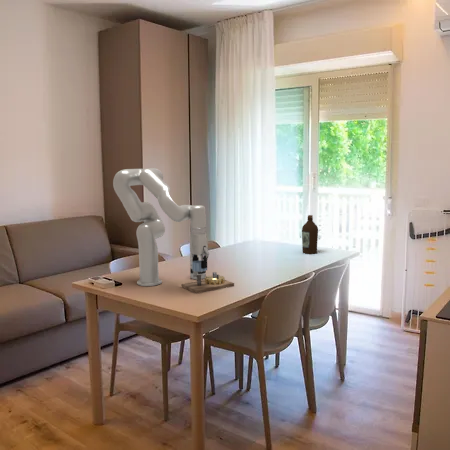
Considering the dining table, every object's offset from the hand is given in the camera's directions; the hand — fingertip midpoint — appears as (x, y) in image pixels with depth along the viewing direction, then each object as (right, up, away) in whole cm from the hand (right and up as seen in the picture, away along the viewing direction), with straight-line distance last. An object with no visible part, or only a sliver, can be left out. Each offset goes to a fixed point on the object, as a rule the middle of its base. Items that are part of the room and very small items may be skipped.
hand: (200, 266), depth 237 cm
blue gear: (0, -2, 0) cm, 2 cm away
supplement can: (-2, -8, +22) cm, 24 cm away
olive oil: (+68, +2, +85) cm, 109 cm away
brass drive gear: (+7, -8, +6) cm, 13 cm away
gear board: (+4, -10, +5) cm, 12 cm away
